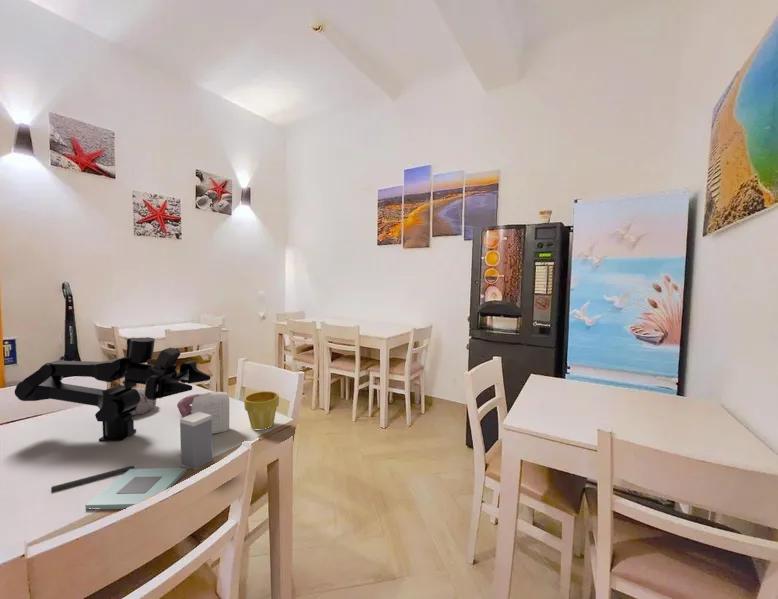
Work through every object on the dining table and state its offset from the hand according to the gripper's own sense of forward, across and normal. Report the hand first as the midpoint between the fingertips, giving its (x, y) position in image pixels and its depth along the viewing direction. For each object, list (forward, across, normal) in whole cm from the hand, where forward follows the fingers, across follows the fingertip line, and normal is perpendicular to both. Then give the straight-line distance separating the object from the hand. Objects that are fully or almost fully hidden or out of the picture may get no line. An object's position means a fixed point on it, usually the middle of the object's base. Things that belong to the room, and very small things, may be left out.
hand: (201, 382), depth 99 cm
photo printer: (+3, +4, +17) cm, 17 cm away
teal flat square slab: (+2, -24, +17) cm, 29 cm away
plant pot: (+16, +9, +15) cm, 24 cm away
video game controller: (-11, +19, +19) cm, 29 cm away
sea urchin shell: (-32, +18, +22) cm, 43 cm away
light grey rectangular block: (+8, -12, +16) cm, 22 cm away
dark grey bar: (-11, -21, +19) cm, 30 cm away
